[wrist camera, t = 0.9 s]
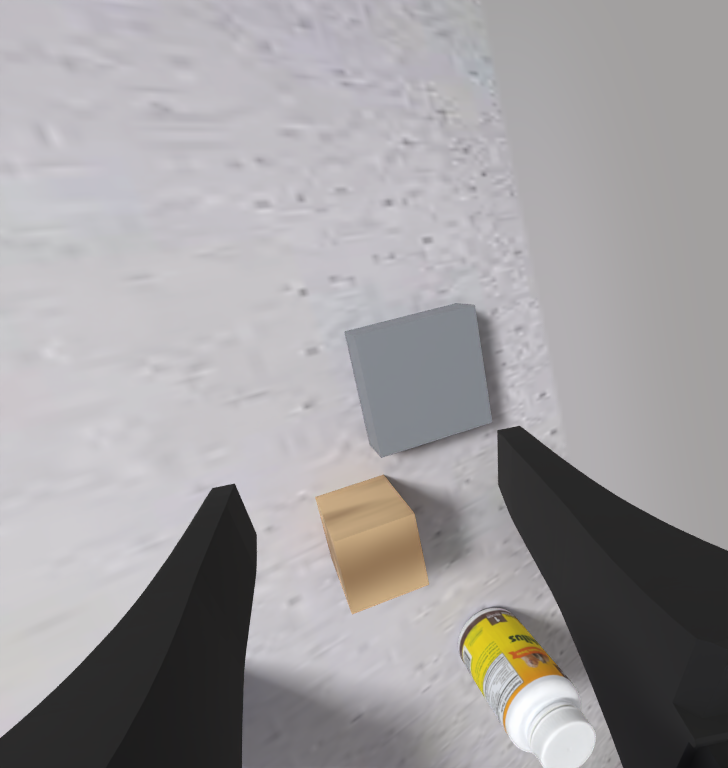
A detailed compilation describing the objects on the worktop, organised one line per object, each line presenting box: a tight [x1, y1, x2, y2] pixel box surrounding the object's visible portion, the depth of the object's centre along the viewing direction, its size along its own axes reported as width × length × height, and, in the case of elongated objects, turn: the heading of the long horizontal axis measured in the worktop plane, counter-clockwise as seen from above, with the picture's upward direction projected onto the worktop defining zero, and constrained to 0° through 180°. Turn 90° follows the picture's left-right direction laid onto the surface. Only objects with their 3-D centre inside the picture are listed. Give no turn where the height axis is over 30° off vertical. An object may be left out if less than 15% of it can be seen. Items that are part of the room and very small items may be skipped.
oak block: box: [315, 475, 429, 614], centre depth 31 cm, size 5×5×6 cm
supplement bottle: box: [458, 608, 596, 768], centre depth 34 cm, size 6×6×10 cm
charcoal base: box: [345, 303, 492, 458], centre depth 31 cm, size 8×8×3 cm
